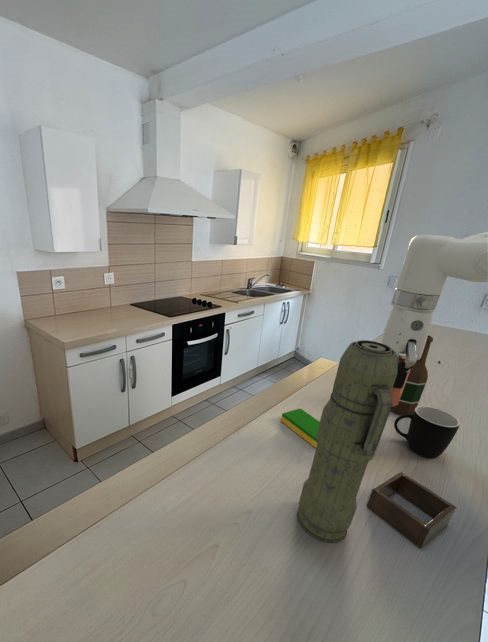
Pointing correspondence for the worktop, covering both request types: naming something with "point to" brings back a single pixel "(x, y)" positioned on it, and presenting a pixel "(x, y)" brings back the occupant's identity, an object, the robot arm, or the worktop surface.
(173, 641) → the worktop surface
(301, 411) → the dish sponge
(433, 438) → the mug
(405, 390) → the beer bottle
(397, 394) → the cup
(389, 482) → the brown rectangular open box
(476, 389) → the worktop surface
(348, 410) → the thermos
